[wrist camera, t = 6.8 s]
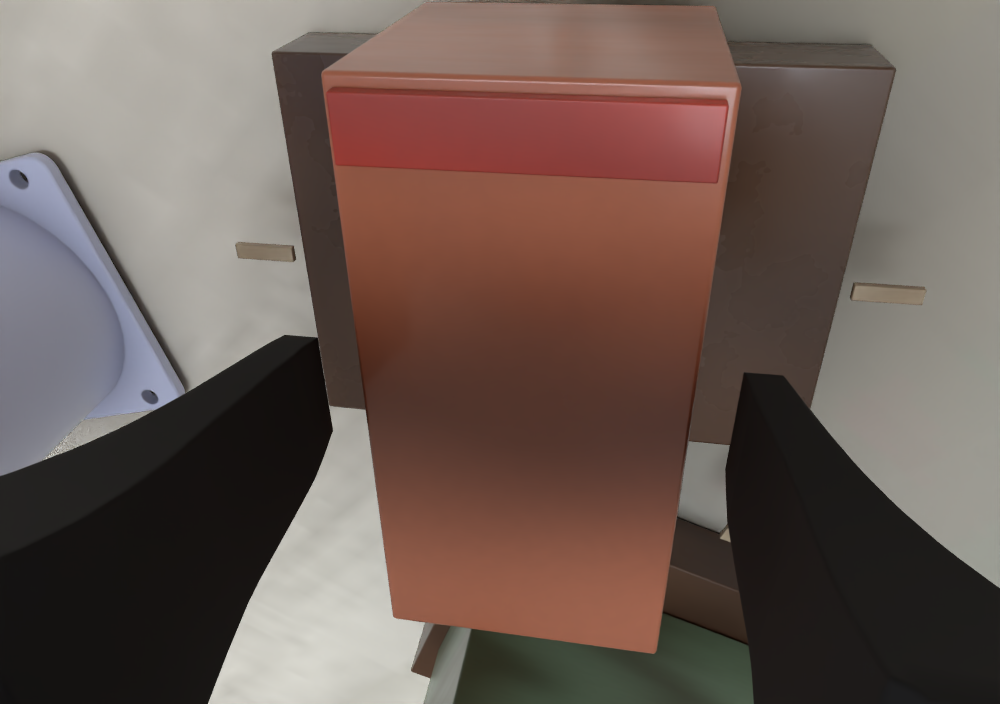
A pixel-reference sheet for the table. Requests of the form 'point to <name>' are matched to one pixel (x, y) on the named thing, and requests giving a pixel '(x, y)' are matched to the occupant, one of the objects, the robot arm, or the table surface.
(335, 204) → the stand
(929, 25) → the table surface
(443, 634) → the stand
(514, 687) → the green and red block
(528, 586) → the orange rectangular box
